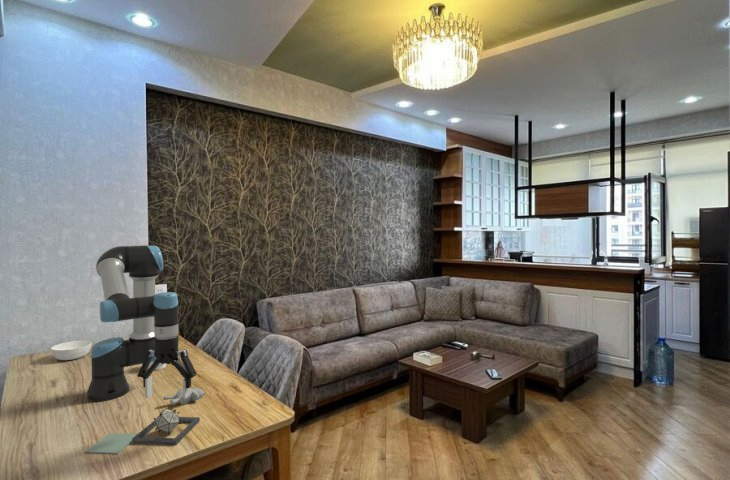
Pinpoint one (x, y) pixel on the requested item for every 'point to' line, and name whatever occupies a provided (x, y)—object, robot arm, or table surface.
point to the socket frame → (172, 441)
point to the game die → (167, 420)
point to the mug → (159, 367)
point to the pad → (112, 443)
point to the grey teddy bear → (193, 395)
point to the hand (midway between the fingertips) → (167, 396)
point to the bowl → (71, 350)
